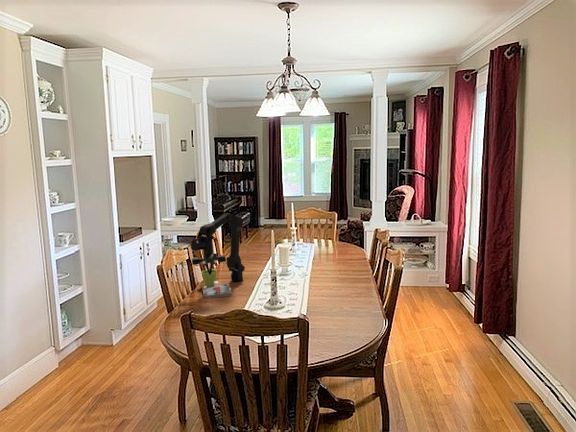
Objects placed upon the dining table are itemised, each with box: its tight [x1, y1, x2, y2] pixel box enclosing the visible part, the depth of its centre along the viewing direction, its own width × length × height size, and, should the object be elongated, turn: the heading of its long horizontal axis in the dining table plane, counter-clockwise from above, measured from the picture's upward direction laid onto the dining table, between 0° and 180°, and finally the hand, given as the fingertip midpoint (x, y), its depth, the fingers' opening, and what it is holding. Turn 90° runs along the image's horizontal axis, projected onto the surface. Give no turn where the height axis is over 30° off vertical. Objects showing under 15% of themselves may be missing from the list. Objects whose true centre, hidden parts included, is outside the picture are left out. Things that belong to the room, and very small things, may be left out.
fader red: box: [215, 284, 221, 293], centre depth 253 cm, size 2×4×3 cm, turn 14°
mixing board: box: [201, 283, 233, 300], centre depth 257 cm, size 15×18×3 cm
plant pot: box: [200, 269, 218, 286], centre depth 271 cm, size 9×9×9 cm
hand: (209, 274), depth 259 cm, fingers closed
